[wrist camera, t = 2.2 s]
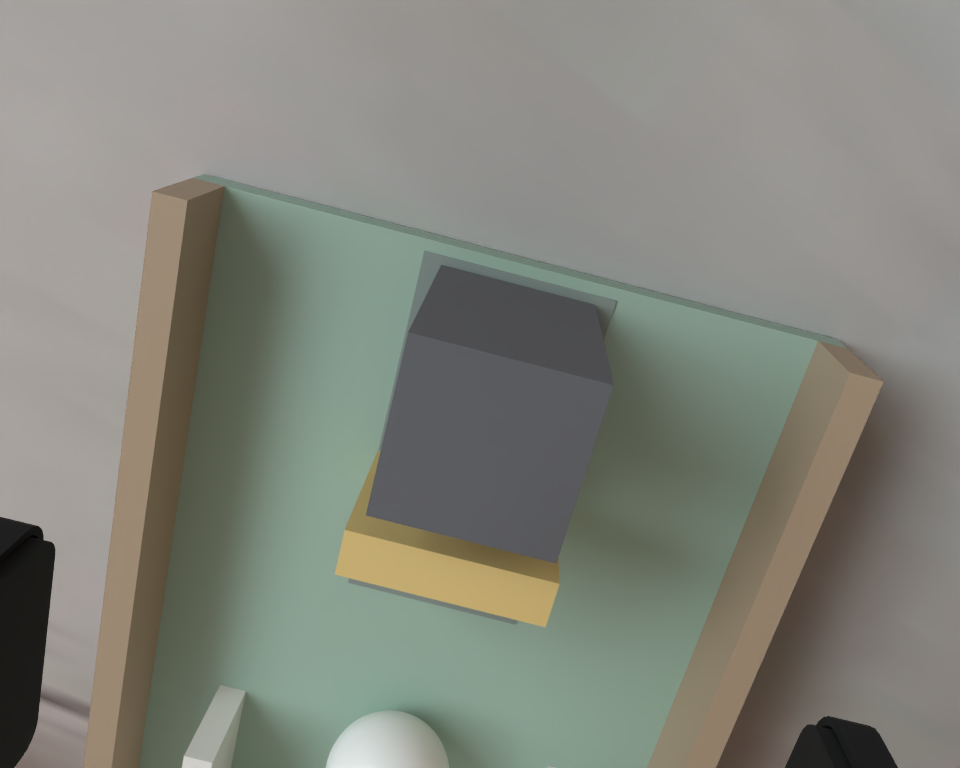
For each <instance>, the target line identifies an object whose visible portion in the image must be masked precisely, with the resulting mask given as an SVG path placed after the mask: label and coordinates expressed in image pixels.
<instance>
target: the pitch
mask: <svg viewBox="0 0 960 768" xmlns="http://www.w3.org/2000/svg"><path fill="white" fill-rule="evenodd" d="M441 265H444V266H448V267H452V268H456V269H460V270H464V271H467V272H471V273H475V274H479V275H483V276H487V277H490V278H494V279H498V280H502V281H506V282H510V283H514V284H517V285H521V286H525V287H529V288H533V289H537V290H540V291H544V292H548V293H552V294H556V295H560V296H563V297H567V298H571V299H575V300H579V301H583V302H587V303H590V304H594V305H596V309H597V314H598V318H599V322H600V327H601V331H602V335H603V340H604V344H605V348H606V353H607V357H608V361H609V366H610V370H611V374H612V379H613V383H614V387H613V390H612V393H611V396H610V399H609V402H608V405H607V409H606V412H605V415H604V418H603V421H602V424H601V427H600V430H599V433H598V436H597V440H596V443H595V446H594V449H593V452H592V455H591V458H590V461H589V464H588V467H587V471H586V474H585V477H584V480H583V483H582V486H581V489H580V492H579V495H578V498H577V501H576V505H575V508H574V511H573V514H572V517H571V520H570V523H569V526H568V529H567V532H566V536H565V539H564V542H563V545H562V548H561V551H560V554H559V577H560V585H559V588H558V591H557V594H556V597H555V600H554V603H553V606H552V609H551V612H550V615H549V618H548V621H547V625H546V627H542V626H538V625H534V624H530V623H526V622H522V621H518V620H514V619H510V618H506V617H502V616H498V615H494V614H490V613H486V612H482V611H478V610H474V609H470V608H466V607H462V606H458V605H454V604H450V603H446V602H442V601H438V600H434V599H430V598H426V597H422V596H418V595H414V594H410V593H406V592H403V591H399V590H395V589H391V588H387V587H383V586H379V585H375V584H371V583H367V582H363V581H359V580H355V579H351V578H347V577H343V576H339V575H335V571H336V566H337V562H338V557H339V553H340V548H341V544H342V539H343V535H344V530H345V528H346V525H347V523H348V520H349V518H350V516H351V513H352V511H353V509H354V506H355V504H356V501H357V499H358V497H359V494H360V492H361V489H362V487H363V485H364V482H365V480H366V478H367V475H368V473H369V470H370V468H371V466H372V463H373V461H374V458H375V456H376V454H377V451H378V450H379V451H381V447H382V443H383V438H384V434H385V430H386V425H387V421H388V417H389V412H390V408H391V404H392V399H393V395H394V391H395V386H396V382H397V378H398V373H399V369H400V365H401V360H402V356H403V352H404V348H405V343H406V339H407V335H408V331H409V329H410V327H411V325H412V323H413V321H414V319H415V317H416V315H417V313H418V311H419V309H420V307H421V305H422V303H423V301H424V299H425V297H426V295H427V293H428V290H429V288H430V286H431V284H432V282H433V280H434V278H435V276H436V274H437V272H438V270H439V268H440V266H441ZM883 383H884V381H883V380H882V379H880V378H879V377H878V376H877V375H876V374H875V373H874V372H873V371H872V370H871V369H870V368H869V367H868V366H866V365H865V364H864V363H863V362H862V361H861V360H860V359H859V358H858V357H857V356H856V355H855V354H853V353H852V352H851V351H850V350H849V349H848V348H847V347H846V346H845V345H844V344H843V343H842V342H840V341H839V340H838V339H834V338H830V337H827V336H823V335H819V334H815V333H811V332H807V331H804V330H800V329H796V328H792V327H788V326H784V325H781V324H777V323H773V322H769V321H765V320H761V319H758V318H754V317H750V316H746V315H742V314H738V313H735V312H731V311H727V310H723V309H719V308H715V307H712V306H708V305H704V304H700V303H696V302H692V301H689V300H685V299H681V298H677V297H673V296H669V295H666V294H662V293H658V292H654V291H650V290H646V289H643V288H639V287H635V286H631V285H627V284H623V283H620V282H616V281H612V280H608V279H604V278H600V277H597V276H593V275H589V274H585V273H581V272H577V271H574V270H570V269H566V268H562V267H558V266H555V265H551V264H547V263H543V262H539V261H535V260H532V259H528V258H524V257H520V256H516V255H512V254H509V253H505V252H501V251H497V250H493V249H489V248H486V247H482V246H478V245H474V244H470V243H466V242H463V241H459V240H455V239H451V238H447V237H443V236H440V235H436V234H432V233H428V232H424V231H420V230H417V229H413V228H409V227H405V226H401V225H397V224H394V223H390V222H386V221H382V220H378V219H374V218H371V217H367V216H363V215H359V214H355V213H351V212H348V211H344V210H340V209H336V208H332V207H328V206H325V205H321V204H317V203H313V202H309V201H305V200H302V199H298V198H294V197H290V196H286V195H282V194H279V193H275V192H271V191H267V190H263V189H260V188H256V187H252V186H248V185H244V184H240V183H237V182H233V181H229V180H225V179H221V178H217V177H214V176H210V175H206V174H203V175H200V176H197V177H194V178H191V179H188V180H185V181H182V182H179V183H176V184H173V185H170V186H167V187H164V188H161V189H158V190H155V191H152V199H151V207H150V215H149V224H148V232H147V240H146V249H145V257H144V265H143V274H142V282H141V290H140V299H139V307H138V315H137V324H136V332H135V340H134V349H133V357H132V365H131V374H130V382H129V390H128V399H127V407H126V415H125V424H124V432H123V441H122V449H121V457H120V466H119V474H118V482H117V491H116V499H115V507H114V516H113V524H112V532H111V541H110V549H109V557H108V566H107V574H106V582H105V591H104V599H103V607H102V616H101V624H100V632H99V641H98V649H97V657H96V666H95V674H94V682H93V691H92V699H91V707H90V716H89V724H88V732H87V741H86V749H85V758H84V766H83V768H182V764H183V758H184V755H185V753H186V751H187V749H188V747H189V745H190V743H191V741H192V739H193V737H194V735H195V733H196V731H197V729H198V728H199V726H200V724H201V722H202V720H203V718H204V716H205V714H206V712H207V710H208V708H209V706H210V704H211V702H212V700H213V698H214V696H215V694H216V692H217V691H218V689H219V687H220V685H223V686H227V687H231V688H235V689H239V690H243V691H246V693H245V698H244V703H243V708H242V714H241V719H240V724H239V729H238V734H237V739H236V745H235V750H234V755H233V760H232V765H231V768H326V763H327V760H328V757H329V753H330V751H331V749H332V747H333V745H334V743H335V742H336V740H337V739H338V737H339V736H340V735H341V734H342V732H343V731H344V730H345V729H346V728H347V727H348V726H349V725H350V724H352V723H353V722H354V721H356V720H357V719H359V718H361V717H363V716H365V715H368V714H370V713H373V712H377V711H383V710H396V711H402V712H406V713H409V714H411V715H413V716H416V717H418V718H419V719H421V720H422V721H424V722H425V723H426V724H427V725H428V726H430V727H431V728H432V730H433V731H434V732H435V733H436V734H437V736H438V737H439V739H440V740H441V743H442V745H443V747H444V749H445V752H446V755H447V759H448V764H449V768H548V766H551V767H555V768H716V766H717V764H718V762H719V759H720V757H721V755H722V753H723V750H724V748H725V746H726V743H727V741H728V739H729V736H730V734H731V732H732V730H733V727H734V725H735V723H736V720H737V718H738V716H739V713H740V711H741V709H742V707H743V704H744V702H745V700H746V697H747V695H748V693H749V691H750V688H751V686H752V684H753V681H754V679H755V677H756V674H757V672H758V670H759V668H760V665H761V663H762V661H763V658H764V656H765V654H766V651H767V649H768V647H769V645H770V642H771V640H772V638H773V635H774V633H775V631H776V628H777V626H778V624H779V622H780V619H781V617H782V615H783V612H784V610H785V608H786V605H787V603H788V601H789V599H790V596H791V594H792V592H793V589H794V587H795V585H796V582H797V580H798V578H799V576H800V573H801V571H802V569H803V566H804V564H805V562H806V560H807V557H808V555H809V553H810V550H811V548H812V546H813V543H814V541H815V539H816V537H817V534H818V532H819V530H820V527H821V525H822V523H823V520H824V518H825V516H826V514H827V511H828V509H829V507H830V504H831V502H832V500H833V497H834V495H835V493H836V491H837V488H838V486H839V484H840V481H841V479H842V477H843V474H844V472H845V470H846V468H847V465H848V463H849V461H850V458H851V456H852V454H853V451H854V449H855V447H856V445H857V442H858V440H859V438H860V435H861V433H862V431H863V429H864V426H865V424H866V422H867V419H868V417H869V415H870V412H871V410H872V408H873V406H874V403H875V401H876V399H877V396H878V394H879V392H880V389H881V387H882V385H883Z"/></svg>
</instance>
